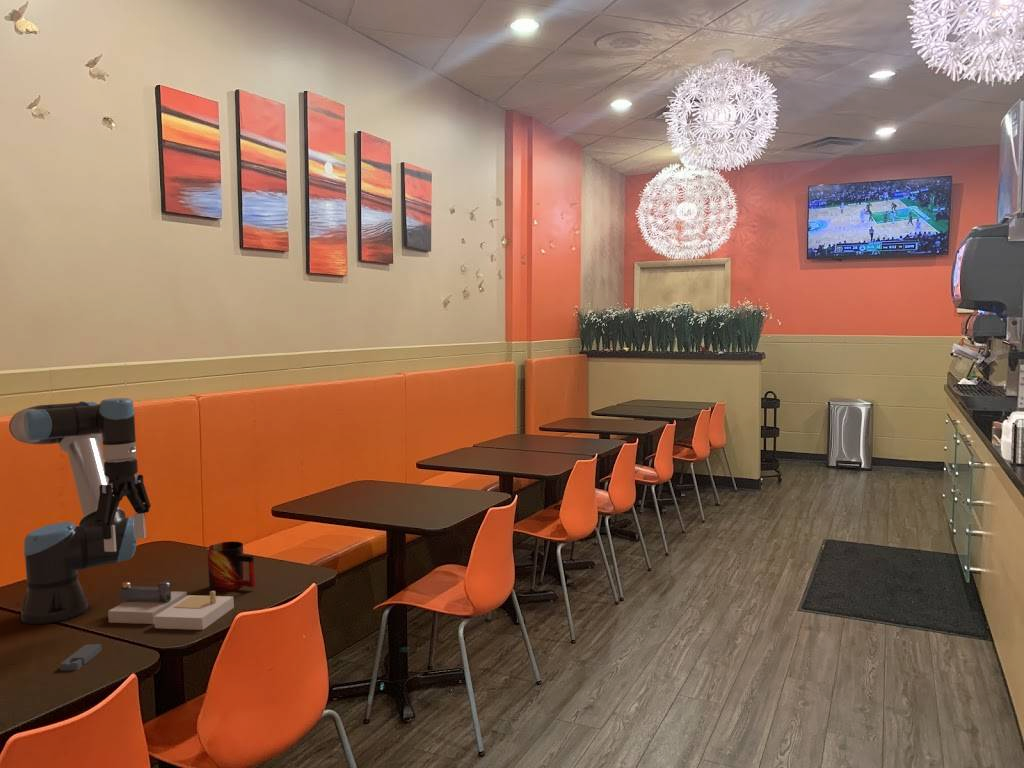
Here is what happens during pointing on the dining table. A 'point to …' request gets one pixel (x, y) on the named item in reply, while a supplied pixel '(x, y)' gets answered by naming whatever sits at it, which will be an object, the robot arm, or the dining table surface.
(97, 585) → the dining table surface
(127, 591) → the bar
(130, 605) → the block
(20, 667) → the dining table surface
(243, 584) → the mug
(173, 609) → the door slab
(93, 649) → the bracket
